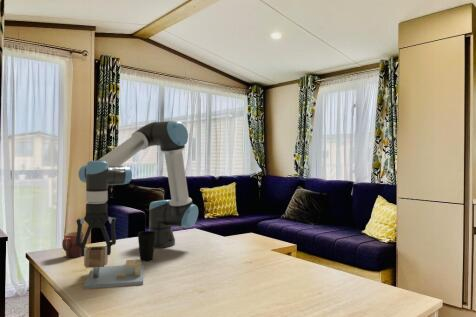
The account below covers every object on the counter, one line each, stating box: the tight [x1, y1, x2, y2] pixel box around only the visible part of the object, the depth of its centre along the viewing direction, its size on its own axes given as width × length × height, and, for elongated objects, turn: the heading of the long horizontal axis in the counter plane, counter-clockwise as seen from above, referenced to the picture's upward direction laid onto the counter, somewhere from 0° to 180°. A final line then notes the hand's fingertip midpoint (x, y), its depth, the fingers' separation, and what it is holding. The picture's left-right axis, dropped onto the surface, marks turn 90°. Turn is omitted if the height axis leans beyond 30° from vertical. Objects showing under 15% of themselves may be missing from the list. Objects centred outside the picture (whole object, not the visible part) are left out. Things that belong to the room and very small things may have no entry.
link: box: [84, 245, 106, 269], centre depth 137 cm, size 15×6×6 cm, turn 14°
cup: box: [137, 230, 155, 262], centre depth 160 cm, size 8×8×12 cm
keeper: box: [117, 258, 142, 279], centre depth 136 cm, size 8×8×4 cm
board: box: [83, 263, 145, 290], centre depth 137 cm, size 20×21×1 cm
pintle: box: [92, 267, 99, 278], centre depth 133 cm, size 2×2×7 cm
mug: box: [61, 231, 86, 259], centre depth 163 cm, size 12×9×10 cm
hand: (96, 264), depth 133 cm, fingers closed on link, 6 cm apart
